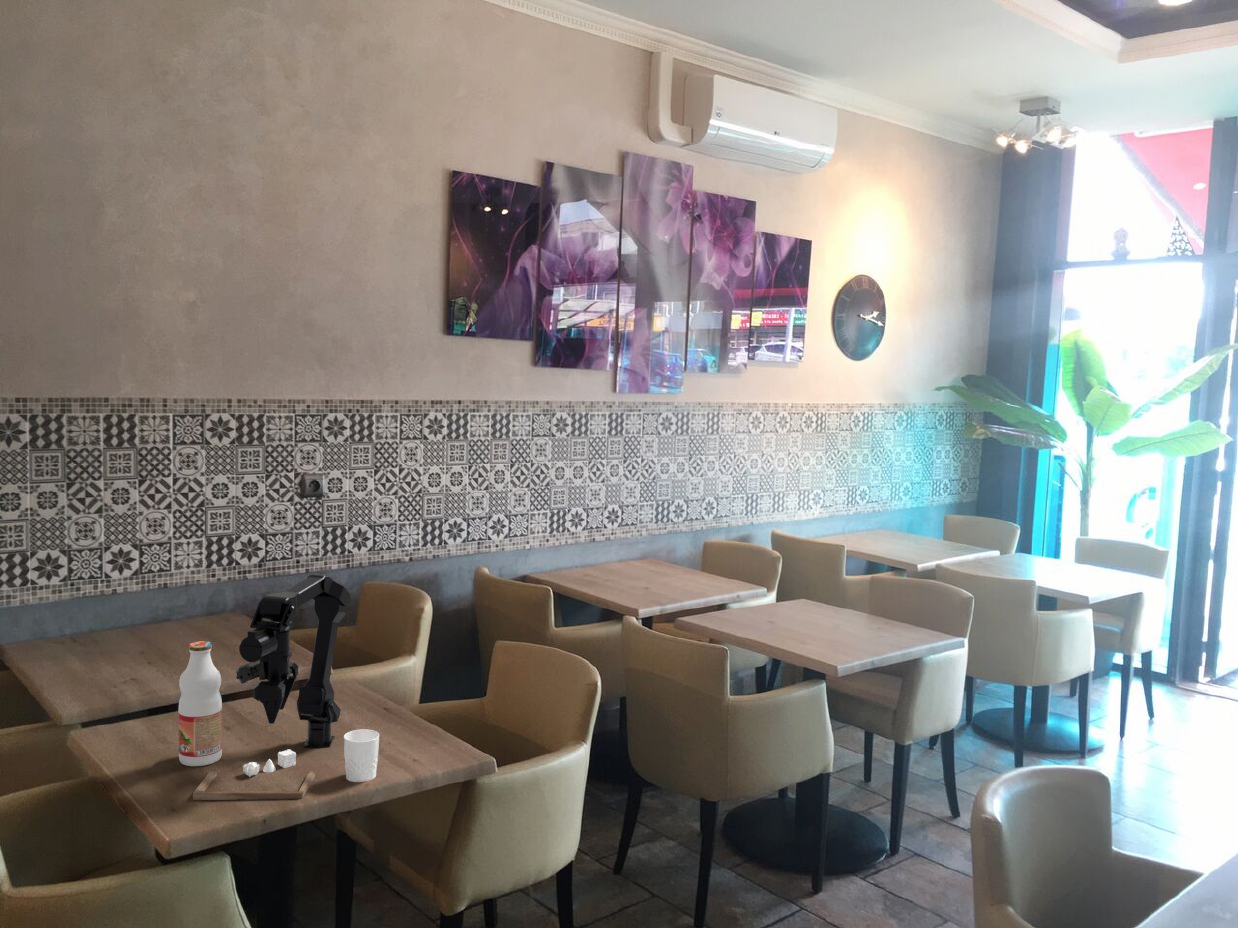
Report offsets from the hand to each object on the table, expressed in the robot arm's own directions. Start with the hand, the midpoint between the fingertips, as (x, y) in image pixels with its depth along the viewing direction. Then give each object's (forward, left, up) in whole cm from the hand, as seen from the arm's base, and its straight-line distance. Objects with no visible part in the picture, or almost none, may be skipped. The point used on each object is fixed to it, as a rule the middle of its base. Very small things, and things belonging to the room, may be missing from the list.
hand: (276, 716), depth 231 cm
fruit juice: (-6, -19, -13) cm, 24 cm away
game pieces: (-1, -2, -14) cm, 14 cm away
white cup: (+4, +20, -13) cm, 24 cm away
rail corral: (+9, -2, -13) cm, 16 cm away
